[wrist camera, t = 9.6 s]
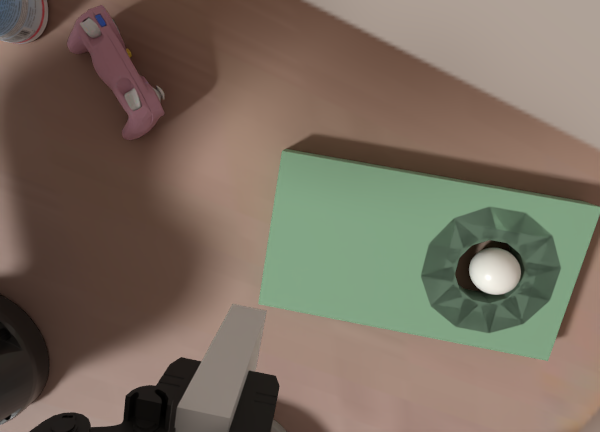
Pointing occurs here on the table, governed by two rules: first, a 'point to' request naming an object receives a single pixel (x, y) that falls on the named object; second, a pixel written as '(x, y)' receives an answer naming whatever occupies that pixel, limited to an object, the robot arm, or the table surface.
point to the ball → (494, 271)
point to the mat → (420, 252)
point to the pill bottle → (22, 20)
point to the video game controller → (117, 70)
